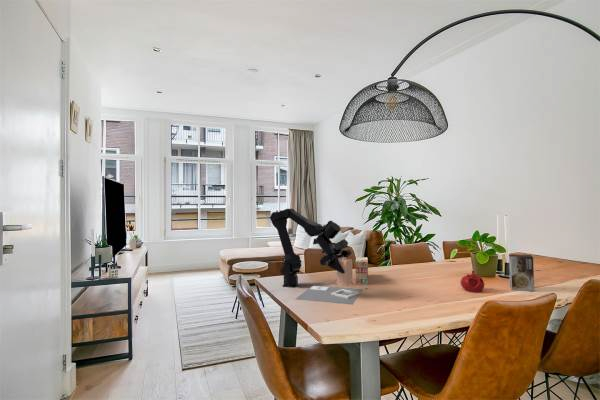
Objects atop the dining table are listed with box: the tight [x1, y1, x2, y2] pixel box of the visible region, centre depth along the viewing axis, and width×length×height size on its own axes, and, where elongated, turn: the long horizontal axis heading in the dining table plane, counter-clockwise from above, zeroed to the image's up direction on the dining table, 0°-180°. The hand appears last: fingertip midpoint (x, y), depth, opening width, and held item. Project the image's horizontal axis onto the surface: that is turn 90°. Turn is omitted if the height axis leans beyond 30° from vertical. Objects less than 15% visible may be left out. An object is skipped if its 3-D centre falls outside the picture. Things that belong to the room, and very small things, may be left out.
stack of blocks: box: [355, 256, 369, 286], centre depth 181 cm, size 21×6×12 cm, turn 169°
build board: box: [295, 284, 364, 306], centre depth 151 cm, size 25×25×2 cm
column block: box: [336, 257, 353, 287], centre depth 149 cm, size 5×5×12 cm
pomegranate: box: [460, 270, 485, 293], centre depth 157 cm, size 10×10×9 cm
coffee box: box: [508, 253, 535, 292], centre depth 158 cm, size 9×6×16 cm
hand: (347, 272), depth 149 cm, fingers closed on column block, 5 cm apart
